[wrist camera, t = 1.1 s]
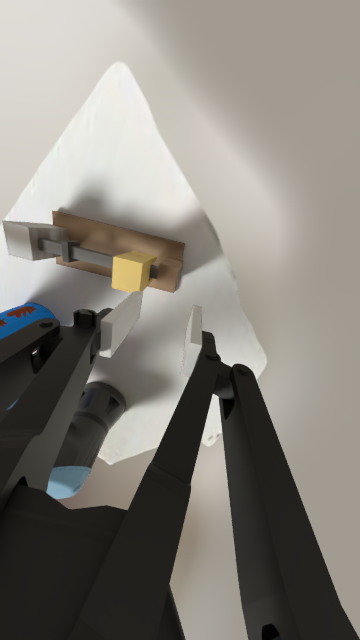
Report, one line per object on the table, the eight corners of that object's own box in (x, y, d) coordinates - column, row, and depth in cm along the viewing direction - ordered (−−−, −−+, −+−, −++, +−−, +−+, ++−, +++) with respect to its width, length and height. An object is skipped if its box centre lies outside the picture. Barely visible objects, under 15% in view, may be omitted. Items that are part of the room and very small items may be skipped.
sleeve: (153, 280, 34) (138, 294, 26) (132, 275, 34) (111, 287, 26) (157, 256, 32) (142, 263, 24) (135, 250, 32) (113, 256, 24)
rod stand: (176, 291, 40) (169, 309, 31) (55, 261, 40) (11, 270, 30) (187, 244, 36) (182, 247, 26) (51, 210, 35) (-2, 201, 26)
